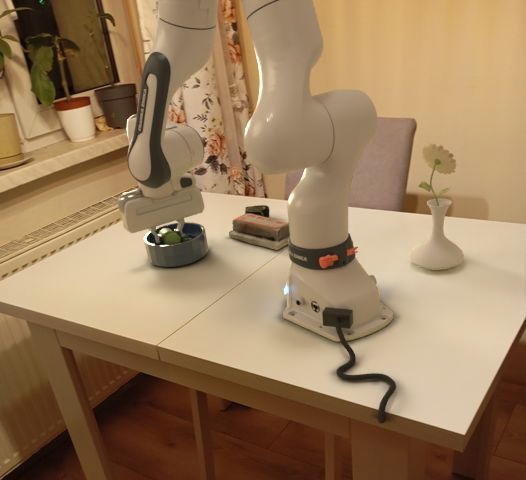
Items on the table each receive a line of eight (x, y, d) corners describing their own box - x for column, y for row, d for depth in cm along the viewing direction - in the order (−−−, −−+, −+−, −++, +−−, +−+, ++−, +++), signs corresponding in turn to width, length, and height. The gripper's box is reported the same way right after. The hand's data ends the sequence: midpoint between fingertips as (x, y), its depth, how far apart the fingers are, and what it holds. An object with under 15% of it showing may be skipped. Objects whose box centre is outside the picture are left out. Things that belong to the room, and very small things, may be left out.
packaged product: (225, 220, 149) (251, 208, 154) (227, 238, 151) (253, 225, 157) (275, 233, 137) (302, 219, 143) (277, 251, 140) (303, 237, 146)
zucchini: (200, 257, 142) (201, 241, 140) (184, 258, 140) (185, 241, 138) (184, 246, 150) (185, 230, 148) (169, 246, 147) (170, 230, 146)
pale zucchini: (185, 249, 139) (182, 234, 137) (171, 253, 138) (168, 238, 136) (171, 238, 146) (168, 224, 144) (157, 242, 145) (154, 228, 143)
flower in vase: (474, 267, 121) (485, 146, 108) (425, 279, 119) (431, 158, 106) (441, 246, 132) (447, 134, 118) (396, 256, 130) (397, 144, 116)
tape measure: (270, 215, 162) (268, 202, 160) (269, 224, 156) (268, 210, 154) (246, 217, 163) (244, 205, 161) (244, 226, 157) (243, 213, 155)
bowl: (218, 256, 142) (214, 233, 139) (162, 274, 136) (157, 251, 133) (193, 239, 153) (189, 217, 150) (140, 255, 148) (135, 234, 144)
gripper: (119, 198, 128) (134, 255, 135) (201, 176, 135) (211, 231, 143) (111, 192, 132) (126, 247, 140) (191, 171, 140) (200, 224, 147)
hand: (169, 239), depth 141 cm, fingers closed on pale zucchini, 4 cm apart
